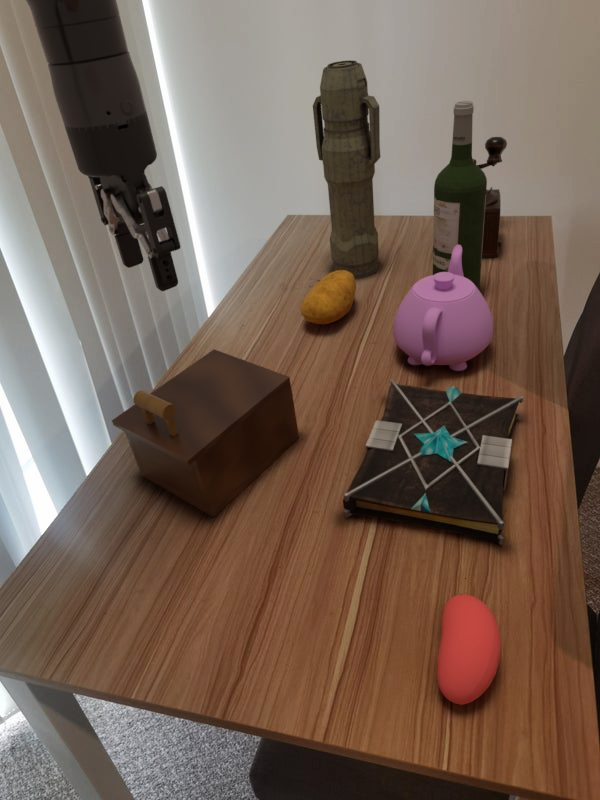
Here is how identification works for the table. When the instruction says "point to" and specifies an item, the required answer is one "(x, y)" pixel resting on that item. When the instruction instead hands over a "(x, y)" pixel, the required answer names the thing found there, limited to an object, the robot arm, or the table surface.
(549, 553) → the table surface
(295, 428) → the chest
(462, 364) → the teapot
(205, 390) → the lid
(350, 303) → the potato
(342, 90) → the tall handled vase
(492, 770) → the table surface
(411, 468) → the book
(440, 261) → the wine bottle
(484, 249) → the coffee grinder
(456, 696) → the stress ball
